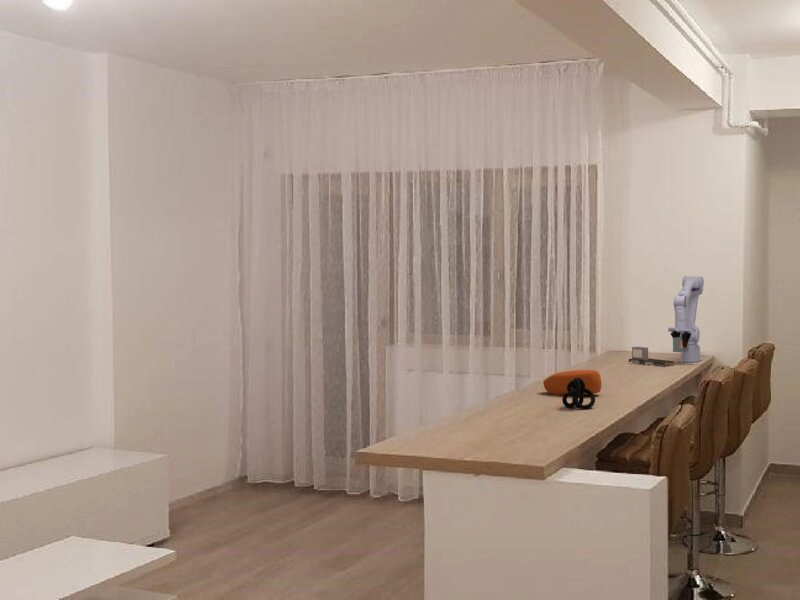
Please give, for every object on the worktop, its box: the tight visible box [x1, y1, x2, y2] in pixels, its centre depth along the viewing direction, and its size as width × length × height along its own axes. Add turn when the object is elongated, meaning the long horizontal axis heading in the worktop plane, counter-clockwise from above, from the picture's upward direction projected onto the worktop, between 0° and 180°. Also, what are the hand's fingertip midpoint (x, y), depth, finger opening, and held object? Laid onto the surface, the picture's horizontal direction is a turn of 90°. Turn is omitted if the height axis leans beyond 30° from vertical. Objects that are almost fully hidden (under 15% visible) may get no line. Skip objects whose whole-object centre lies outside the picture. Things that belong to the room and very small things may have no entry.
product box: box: [672, 337, 688, 353], centre depth 539 cm, size 4×7×7 cm, turn 128°
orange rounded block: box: [542, 369, 602, 396], centre depth 455 cm, size 12×11×25 cm
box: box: [631, 346, 649, 361], centre depth 549 cm, size 4×7×7 cm, turn 39°
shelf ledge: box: [628, 357, 675, 368], centre depth 544 cm, size 8×22×2 cm, turn 38°
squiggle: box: [561, 377, 596, 410], centre depth 424 cm, size 11×10×15 cm
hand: (681, 347), depth 539 cm, fingers closed on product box, 4 cm apart
